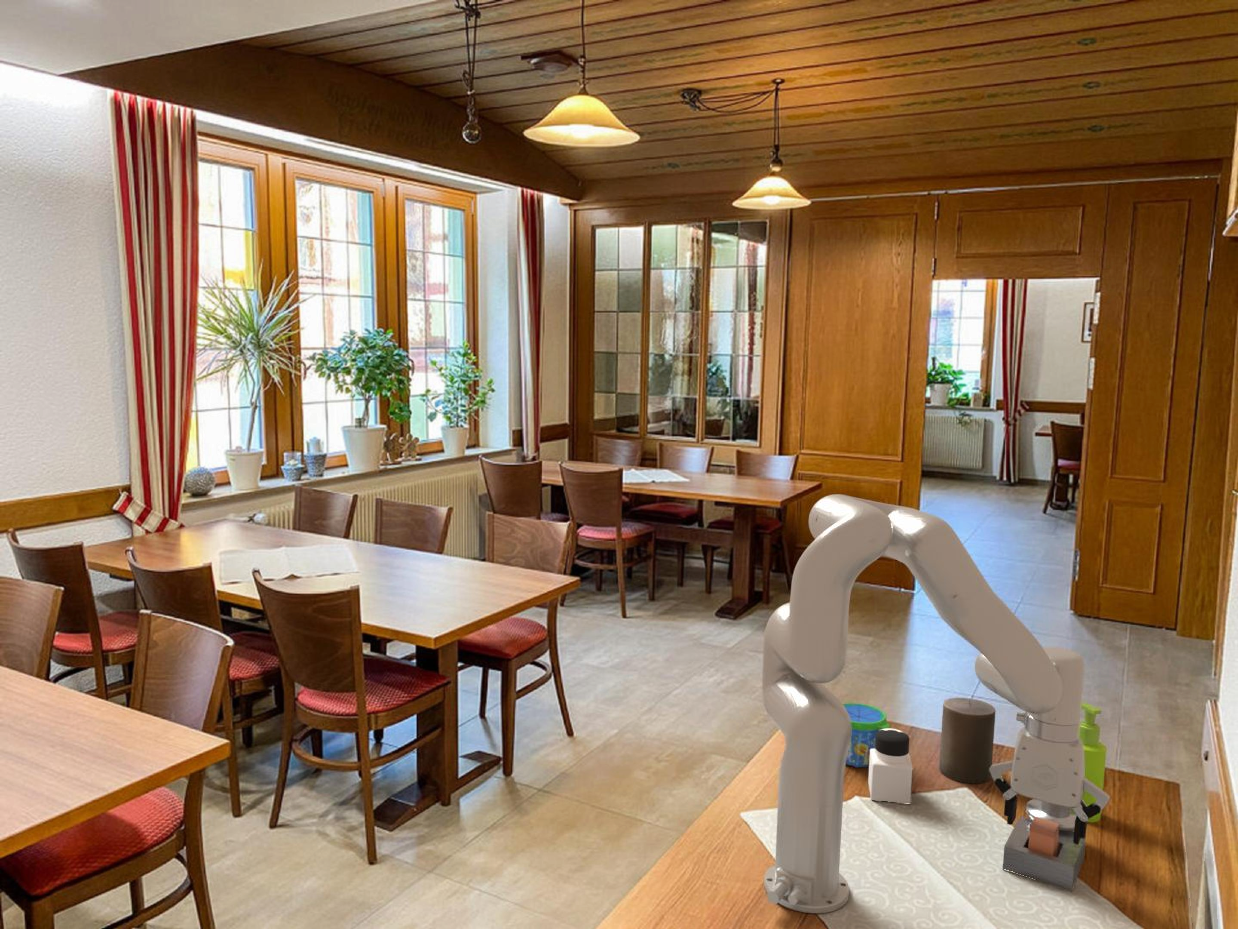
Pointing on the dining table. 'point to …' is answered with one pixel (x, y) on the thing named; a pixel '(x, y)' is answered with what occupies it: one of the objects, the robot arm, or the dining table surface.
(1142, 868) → the dining table surface
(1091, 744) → the soap dispenser
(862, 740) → the snack cup
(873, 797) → the medicine bottle
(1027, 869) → the slotted block
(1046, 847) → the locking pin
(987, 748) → the pillar candle
